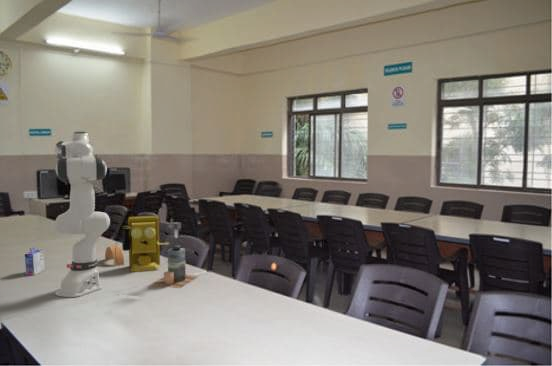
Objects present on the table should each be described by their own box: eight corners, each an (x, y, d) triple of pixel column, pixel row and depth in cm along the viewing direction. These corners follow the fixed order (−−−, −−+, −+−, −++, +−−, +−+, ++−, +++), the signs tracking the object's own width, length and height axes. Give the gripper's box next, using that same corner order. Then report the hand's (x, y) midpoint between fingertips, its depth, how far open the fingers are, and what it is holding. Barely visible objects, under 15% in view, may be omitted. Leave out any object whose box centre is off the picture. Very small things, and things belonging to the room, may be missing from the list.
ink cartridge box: (36, 270, 265) (35, 245, 264) (45, 270, 265) (44, 246, 263) (25, 275, 255) (24, 249, 254) (34, 275, 255) (33, 249, 254)
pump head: (172, 241, 232) (171, 225, 231) (165, 240, 233) (164, 225, 232) (181, 237, 241) (181, 222, 241) (174, 237, 242) (174, 222, 242)
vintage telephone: (113, 273, 258) (111, 221, 256) (115, 267, 272) (113, 217, 269) (169, 269, 267) (168, 219, 264) (168, 263, 280) (167, 215, 277)
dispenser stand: (180, 291, 227) (179, 252, 225) (148, 287, 232) (147, 250, 230) (199, 278, 248) (199, 243, 246) (170, 275, 253) (169, 241, 251)
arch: (114, 266, 274) (113, 250, 273) (105, 259, 290) (104, 244, 289) (124, 264, 277) (123, 248, 276) (114, 258, 293) (113, 243, 292)
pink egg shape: (170, 285, 231) (170, 274, 230) (162, 285, 232) (161, 273, 231) (175, 282, 235) (175, 271, 235) (167, 282, 237) (166, 270, 236)
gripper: (61, 161, 251) (62, 183, 256) (100, 160, 259) (101, 182, 264) (61, 157, 256) (62, 179, 261) (100, 156, 264) (100, 178, 270)
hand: (82, 181), depth 263 cm, fingers open, 8 cm apart
